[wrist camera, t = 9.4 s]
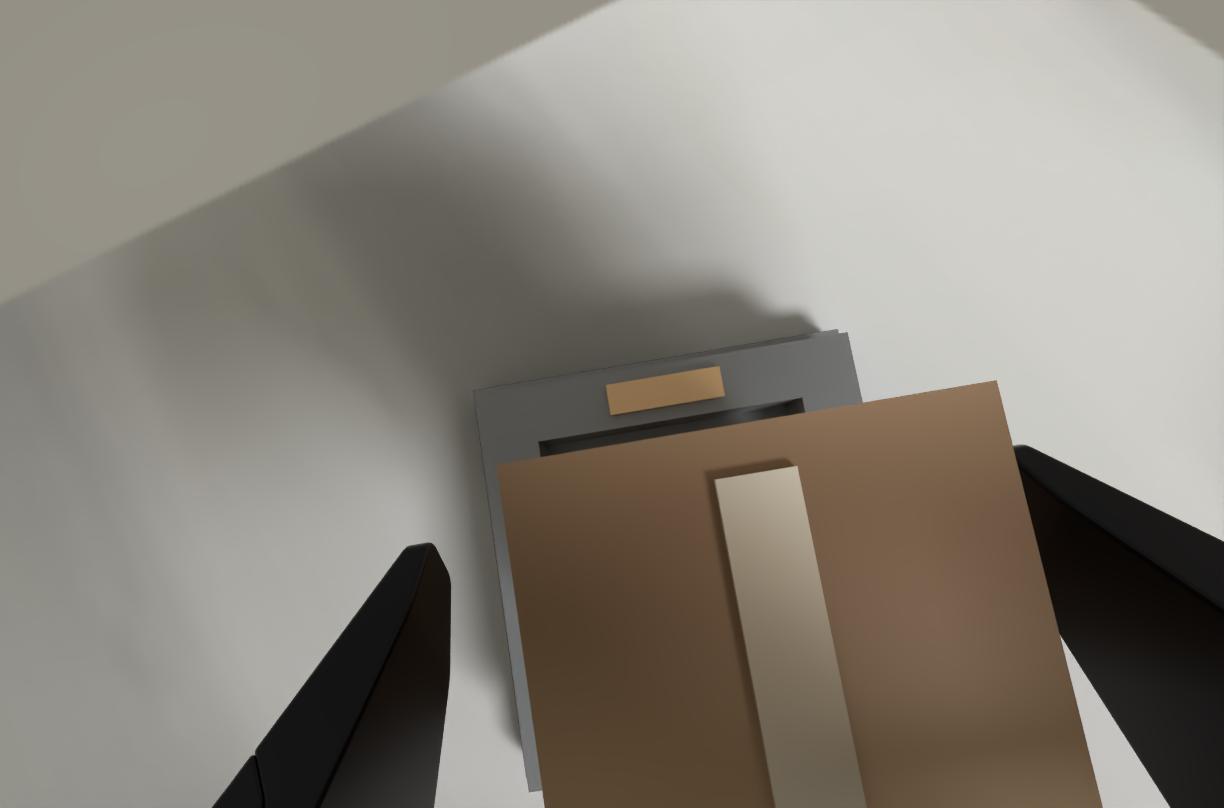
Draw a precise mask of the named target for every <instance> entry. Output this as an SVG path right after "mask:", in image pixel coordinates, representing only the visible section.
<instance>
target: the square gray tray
mask: <svg viewBox="0 0 1224 808" xmlns="http://www.w3.org/2000/svg"><path fill="white" fill-rule="evenodd" d="M473 393H474V400H475V407H476V415H477V422H478V429H479V436H480V444H481V451H482V458H483V466H484V473H485V480H486V488H487V495H488V502H489V509H490V517H491V524H492V531H493V539H494V546H495V553H496V561H497V568H498V575H499V582H500V590H501V597H502V604H503V612H504V619H505V626H506V634H507V641H508V648H509V655H510V663H511V670H512V677H513V685H514V692H515V699H516V707H517V714H518V721H519V729H520V736H521V743H522V750H523V758H524V765H525V772H526V778H527V782H528V789H529V792H534V791H540V790H542V784H541V777H540V770H539V763H538V756H537V749H536V742H535V735H534V727H533V720H532V713H531V706H530V699H529V692H528V685H527V678H526V671H525V664H524V657H523V650H522V643H521V636H520V629H519V622H518V615H517V607H516V600H515V593H514V586H513V579H512V572H511V565H510V558H509V551H508V544H507V537H506V530H505V523H504V516H503V509H502V502H501V495H500V488H499V480H498V473H497V466H496V465H498V464H503V463H509V462H515V461H521V460H527V459H533V458H539V457H545V456H551V455H557V454H563V453H569V452H575V451H581V450H586V449H592V448H598V447H604V446H610V445H616V444H622V443H628V442H634V441H640V440H646V439H652V438H658V437H664V436H669V435H675V434H681V433H687V432H693V431H699V430H705V429H711V428H717V427H723V426H729V425H735V424H741V423H747V422H752V421H758V420H764V419H770V418H776V417H782V416H788V415H794V414H800V413H806V412H812V411H818V410H824V409H830V408H835V407H841V406H847V405H853V404H859V403H863V402H862V397H861V393H860V388H859V383H858V379H857V374H856V370H855V365H854V360H853V356H852V351H851V347H850V342H849V337H848V333H847V332H846V333H840V334H839V333H838V329H835V330H829V331H823V332H817V333H811V334H805V335H800V336H794V337H788V338H782V339H776V340H770V341H764V342H758V343H752V344H746V345H740V346H734V347H729V348H723V349H717V350H711V351H705V352H699V353H693V354H687V355H681V356H675V357H669V358H663V359H658V360H652V361H646V362H640V363H634V364H628V365H622V366H616V367H610V368H604V369H598V370H592V371H587V372H581V373H575V374H569V375H563V376H557V377H551V378H545V379H539V380H533V381H527V382H521V383H516V384H510V385H504V386H498V387H492V388H486V389H480V390H474V391H473Z"/></svg>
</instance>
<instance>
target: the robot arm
mask: <svg viewBox="0 0 1224 808" xmlns="http://www.w3.org/2000/svg"><path fill="white" fill-rule="evenodd" d="M1013 449H1014V453H1015V457H1016V461H1017V465H1018V469H1019V473H1020V477H1021V481H1022V485H1023V489H1024V493H1025V497H1026V501H1027V505H1028V509H1029V513H1030V517H1031V521H1032V525H1033V529H1034V533H1035V537H1036V541H1037V545H1038V549H1039V553H1040V557H1041V561H1042V565H1043V569H1044V574H1045V578H1046V582H1047V586H1048V590H1049V594H1050V598H1051V602H1052V606H1053V610H1054V614H1055V618H1056V622H1057V626H1058V630H1059V634H1060V635H1061V637H1062V639H1063V640H1064V642H1065V643H1066V645H1067V646H1068V648H1069V650H1070V651H1071V653H1072V654H1073V656H1074V657H1075V659H1076V661H1077V662H1078V664H1079V665H1080V667H1081V668H1082V670H1083V672H1084V673H1085V675H1086V676H1087V678H1088V679H1089V681H1090V682H1091V684H1092V686H1093V687H1094V689H1095V690H1096V692H1097V693H1098V695H1099V697H1100V698H1101V700H1102V701H1103V703H1104V704H1105V706H1106V708H1107V709H1108V711H1109V712H1110V714H1111V715H1112V717H1113V718H1114V720H1115V722H1116V723H1117V725H1118V726H1119V728H1120V729H1121V731H1122V733H1123V734H1124V736H1125V737H1126V739H1127V740H1128V742H1129V744H1130V745H1131V747H1132V748H1133V750H1134V751H1135V753H1136V755H1137V756H1138V758H1139V759H1140V761H1141V762H1142V764H1143V765H1144V767H1145V769H1146V770H1147V772H1148V773H1149V775H1150V776H1151V778H1152V780H1153V781H1154V783H1155V784H1156V786H1157V787H1158V789H1159V791H1160V792H1161V794H1162V795H1163V797H1164V798H1165V800H1166V802H1167V803H1168V805H1169V806H1170V808H1224V541H1222V540H1220V539H1218V538H1216V537H1214V536H1212V535H1209V534H1207V533H1205V532H1203V531H1201V530H1199V529H1197V528H1195V527H1193V526H1191V525H1189V524H1187V523H1185V522H1183V521H1181V520H1179V519H1177V518H1175V517H1173V516H1171V515H1169V514H1167V513H1165V512H1163V511H1161V510H1158V509H1156V508H1154V507H1152V506H1150V505H1148V504H1146V503H1144V502H1142V501H1140V500H1138V499H1136V498H1134V497H1132V496H1130V495H1128V494H1126V493H1124V492H1122V491H1120V490H1118V489H1116V488H1114V487H1112V486H1109V485H1107V484H1105V483H1103V482H1101V481H1099V480H1097V479H1095V478H1093V477H1091V476H1089V475H1087V474H1085V473H1083V472H1081V471H1079V470H1077V469H1075V468H1073V467H1071V466H1069V465H1067V464H1065V463H1063V462H1060V461H1058V460H1056V459H1054V458H1052V457H1050V456H1048V455H1046V454H1044V453H1042V452H1040V451H1038V450H1036V449H1034V448H1032V447H1030V446H1027V445H1014V446H1013ZM450 638H451V581H450V576H449V573H448V571H447V569H446V567H445V565H444V563H443V561H442V559H441V557H440V555H439V553H438V551H437V549H436V547H435V546H434V545H433V544H432V543H423V544H417V545H411V546H408V547H406V548H405V549H404V550H403V551H402V553H401V554H400V555H399V557H398V558H397V559H396V561H395V562H394V563H393V565H392V566H391V567H390V569H389V570H388V571H387V573H386V574H385V576H384V577H383V578H382V580H381V581H380V582H379V584H378V585H377V586H376V588H375V589H374V590H373V592H372V593H371V594H370V596H369V597H368V598H367V600H366V601H365V603H364V604H363V605H362V607H361V608H360V609H359V611H358V612H357V613H356V615H355V616H354V617H353V619H352V620H351V621H350V623H349V624H348V626H347V627H346V628H345V630H344V631H343V632H342V634H341V635H340V636H339V638H338V639H337V640H336V642H335V643H334V644H333V646H332V647H331V648H330V650H329V651H328V653H327V654H326V655H325V657H324V658H323V659H322V661H321V662H320V663H319V665H318V666H317V667H316V669H315V670H314V671H313V673H312V674H311V675H310V677H309V678H308V680H307V681H306V682H305V684H304V685H303V686H302V688H301V689H300V690H299V692H298V693H297V694H296V696H295V697H294V698H293V700H292V701H291V703H290V704H289V705H288V707H287V708H286V709H285V711H284V712H283V713H282V715H281V716H280V717H279V719H278V720H277V721H276V723H275V724H274V725H273V727H272V728H271V730H270V731H269V732H268V734H267V735H266V736H265V738H264V739H263V740H262V742H261V743H260V744H259V746H258V747H257V748H256V750H255V755H252V756H251V757H250V758H249V759H248V760H247V762H246V763H245V764H244V766H243V767H242V768H241V770H240V771H239V772H238V774H237V775H236V776H235V778H234V779H233V781H232V782H231V783H230V784H229V786H228V787H227V788H226V790H225V791H224V792H223V794H222V795H221V796H220V797H219V799H218V800H217V801H216V803H215V804H214V805H213V807H212V808H434V803H435V795H436V787H437V779H438V771H439V763H440V755H441V747H442V739H443V731H444V723H445V715H446V707H447V699H448V690H449V680H450Z"/></svg>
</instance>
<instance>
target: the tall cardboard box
mask: <svg viewBox="0 0 1224 808" xmlns="http://www.w3.org/2000/svg"><path fill="white" fill-rule="evenodd" d="M496 466H497V473H498V480H499V488H500V495H501V502H502V509H503V516H504V523H505V530H506V537H507V544H508V551H509V558H510V565H511V572H512V579H513V586H514V593H515V600H516V607H517V615H518V622H519V629H520V636H521V643H522V650H523V657H524V664H525V671H526V678H527V685H528V692H529V699H530V706H531V713H532V720H533V727H534V735H535V742H536V749H537V756H538V763H539V770H540V777H541V784H542V791H543V798H544V805H545V808H1103V807H1102V803H1101V799H1100V795H1099V791H1098V787H1097V783H1096V779H1095V775H1094V771H1093V767H1092V763H1091V759H1090V755H1089V751H1088V747H1087V742H1086V738H1085V734H1084V730H1083V726H1082V722H1081V718H1080V714H1079V710H1078V706H1077V702H1076V698H1075V694H1074V690H1073V686H1072V682H1071V678H1070V674H1069V670H1068V666H1067V662H1066V658H1065V654H1064V650H1063V646H1062V642H1061V638H1060V634H1059V630H1058V626H1057V622H1056V618H1055V614H1054V610H1053V606H1052V602H1051V598H1050V594H1049V590H1048V586H1047V582H1046V578H1045V574H1044V569H1043V565H1042V561H1041V557H1040V553H1039V549H1038V545H1037V541H1036V537H1035V533H1034V529H1033V525H1032V521H1031V517H1030V513H1029V509H1028V505H1027V501H1026V497H1025V493H1024V489H1023V485H1022V481H1021V477H1020V473H1019V469H1018V465H1017V461H1016V457H1015V453H1014V449H1013V445H1012V441H1011V437H1010V433H1009V429H1008V425H1007V421H1006V417H1005V413H1004V409H1003V405H1002V401H1001V396H1000V392H999V388H998V384H997V380H996V381H990V382H984V383H978V384H972V385H966V386H960V387H954V388H948V389H942V390H936V391H930V392H924V393H918V394H913V395H907V396H901V397H895V398H889V399H883V400H877V401H871V402H865V403H859V404H853V405H847V406H841V407H835V408H830V409H824V410H818V411H812V412H806V413H800V414H794V415H788V416H782V417H776V418H770V419H764V420H758V421H752V422H747V423H741V424H735V425H729V426H723V427H717V428H711V429H705V430H699V431H693V432H687V433H681V434H675V435H669V436H664V437H658V438H652V439H646V440H640V441H634V442H628V443H622V444H616V445H610V446H604V447H598V448H592V449H586V450H581V451H575V452H569V453H563V454H557V455H551V456H545V457H539V458H533V459H527V460H521V461H515V462H509V463H503V464H498V465H496Z"/></svg>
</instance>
